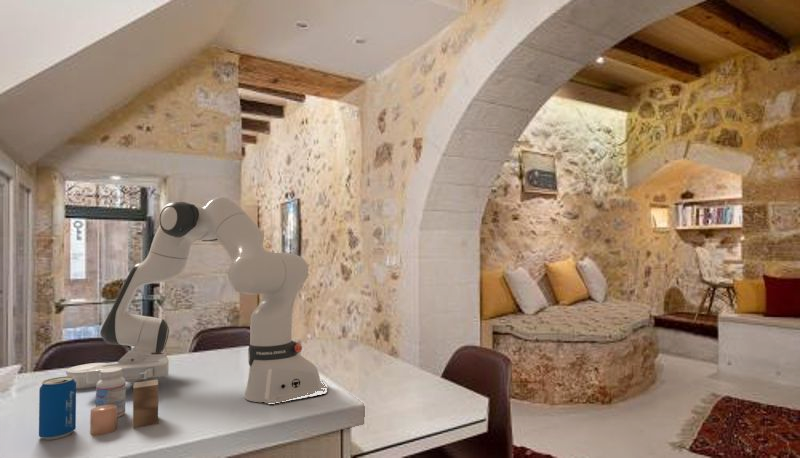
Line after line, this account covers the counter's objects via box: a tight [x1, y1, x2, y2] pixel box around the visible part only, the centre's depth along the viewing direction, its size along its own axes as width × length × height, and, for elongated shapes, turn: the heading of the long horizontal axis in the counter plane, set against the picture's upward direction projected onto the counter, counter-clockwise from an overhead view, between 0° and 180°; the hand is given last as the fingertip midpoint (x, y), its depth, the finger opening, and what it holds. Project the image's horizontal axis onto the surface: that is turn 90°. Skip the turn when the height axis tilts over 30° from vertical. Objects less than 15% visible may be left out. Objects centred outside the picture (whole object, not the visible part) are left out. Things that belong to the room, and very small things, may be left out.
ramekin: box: [65, 362, 109, 390], centre depth 138 cm, size 11×11×5 cm
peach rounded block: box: [89, 405, 118, 436], centre depth 102 cm, size 5×5×5 cm
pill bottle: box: [95, 367, 127, 418], centre depth 111 cm, size 6×6×11 cm
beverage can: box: [38, 375, 77, 441], centre depth 100 cm, size 6×6×12 cm
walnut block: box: [132, 378, 159, 429], centre depth 106 cm, size 5×5×9 cm
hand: (123, 378), depth 122 cm, fingers open, 8 cm apart
